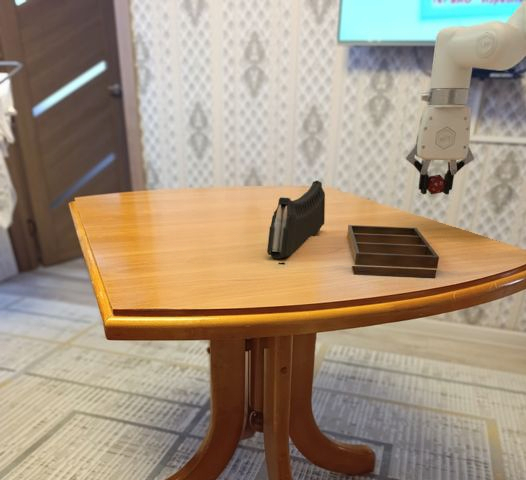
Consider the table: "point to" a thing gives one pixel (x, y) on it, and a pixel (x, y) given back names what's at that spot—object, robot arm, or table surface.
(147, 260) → the table surface
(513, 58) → the robot arm
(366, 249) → the rack
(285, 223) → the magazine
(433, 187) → the dice
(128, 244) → the table surface
